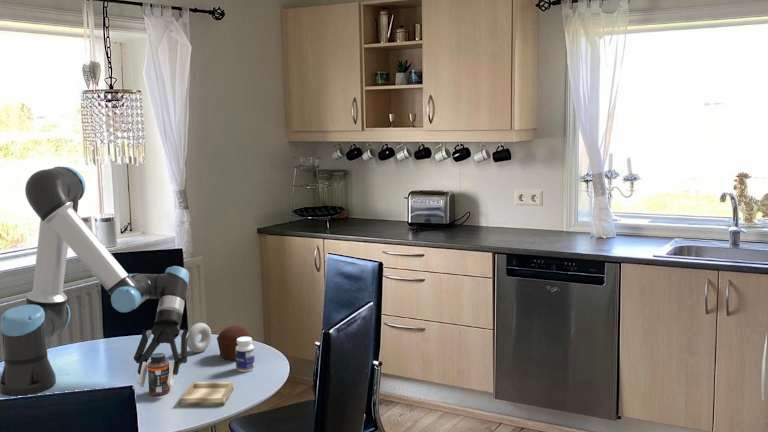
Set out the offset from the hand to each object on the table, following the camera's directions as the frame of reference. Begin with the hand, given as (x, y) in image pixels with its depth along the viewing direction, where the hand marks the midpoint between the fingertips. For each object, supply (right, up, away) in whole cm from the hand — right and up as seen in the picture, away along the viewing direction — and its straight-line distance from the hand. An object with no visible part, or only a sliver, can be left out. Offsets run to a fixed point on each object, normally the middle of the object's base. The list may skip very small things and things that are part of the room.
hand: (155, 384), depth 214 cm
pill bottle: (+22, 0, +22) cm, 31 cm away
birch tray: (+15, -4, 0) cm, 15 cm away
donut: (+3, +2, +39) cm, 40 cm away
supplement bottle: (0, -3, +4) cm, 5 cm away
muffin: (+16, +1, +34) cm, 38 cm away
